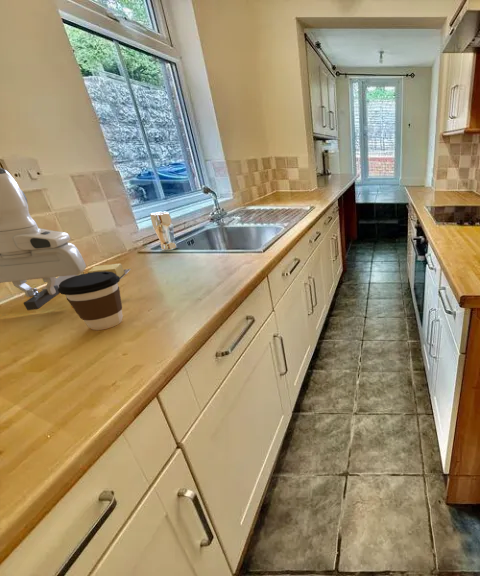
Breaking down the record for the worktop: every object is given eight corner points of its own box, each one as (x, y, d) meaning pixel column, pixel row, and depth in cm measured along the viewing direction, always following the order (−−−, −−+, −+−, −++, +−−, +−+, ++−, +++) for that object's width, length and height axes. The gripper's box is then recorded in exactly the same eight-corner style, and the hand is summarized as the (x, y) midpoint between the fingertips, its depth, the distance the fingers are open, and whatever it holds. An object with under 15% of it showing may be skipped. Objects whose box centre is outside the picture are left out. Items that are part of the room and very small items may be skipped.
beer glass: (182, 245, 140) (172, 211, 133) (173, 250, 133) (163, 214, 127) (165, 246, 139) (155, 211, 133) (156, 251, 133) (145, 215, 127)
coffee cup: (117, 310, 85) (100, 268, 80) (143, 317, 81) (128, 274, 76) (66, 330, 75) (44, 283, 70) (94, 339, 72) (73, 291, 67)
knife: (38, 309, 75) (32, 297, 73) (27, 310, 74) (21, 299, 73) (81, 277, 93) (77, 267, 91) (73, 278, 92) (68, 268, 91)
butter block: (91, 282, 98) (87, 271, 97) (99, 275, 103) (95, 265, 102) (118, 279, 101) (114, 268, 99) (124, 273, 105) (121, 263, 104)
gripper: (-59, 248, 66) (-24, 307, 72) (63, 239, 73) (86, 294, 78) (-35, 241, 72) (-5, 296, 77) (76, 233, 78) (97, 284, 84)
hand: (42, 295), depth 78 cm, fingers closed on knife, 2 cm apart
